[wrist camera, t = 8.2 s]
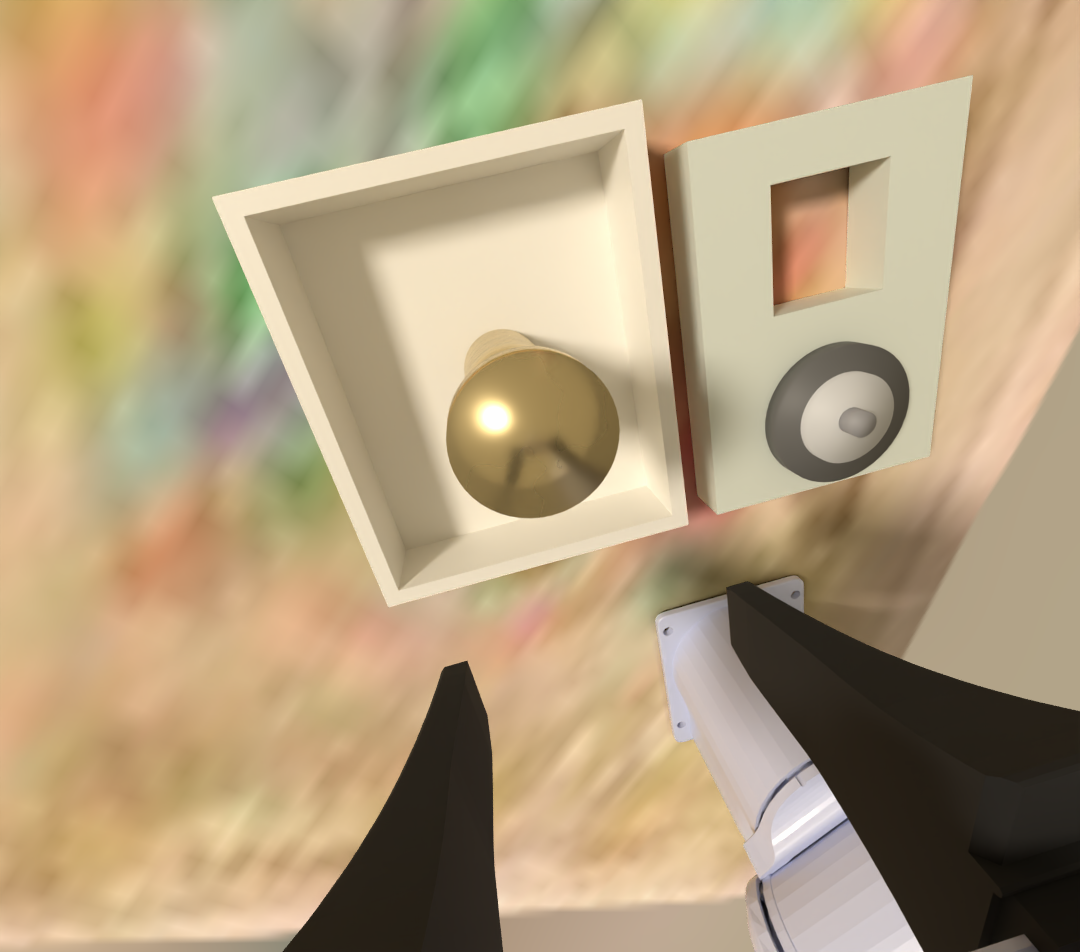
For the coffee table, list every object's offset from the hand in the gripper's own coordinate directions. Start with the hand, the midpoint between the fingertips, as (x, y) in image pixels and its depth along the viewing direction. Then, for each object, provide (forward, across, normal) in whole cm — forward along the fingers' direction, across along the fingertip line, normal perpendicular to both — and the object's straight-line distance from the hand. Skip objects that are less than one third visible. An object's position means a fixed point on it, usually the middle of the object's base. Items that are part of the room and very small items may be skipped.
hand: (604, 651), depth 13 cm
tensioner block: (+10, -12, -5) cm, 16 cm away
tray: (+10, +1, -6) cm, 12 cm away
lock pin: (+9, 0, -6) cm, 11 cm away
